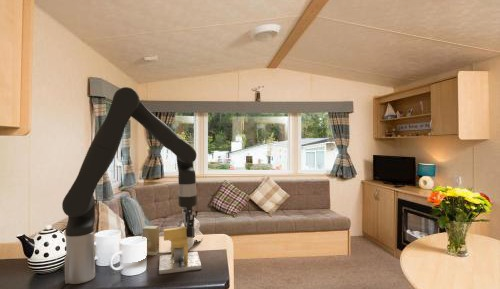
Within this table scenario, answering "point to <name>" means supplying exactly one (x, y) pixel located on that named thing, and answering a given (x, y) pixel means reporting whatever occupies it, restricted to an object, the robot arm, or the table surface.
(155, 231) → the skincare box
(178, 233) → the yellow irregular block
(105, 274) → the table surface
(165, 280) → the table surface
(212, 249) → the table surface
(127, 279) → the table surface
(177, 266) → the post base
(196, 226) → the cherub figurine
